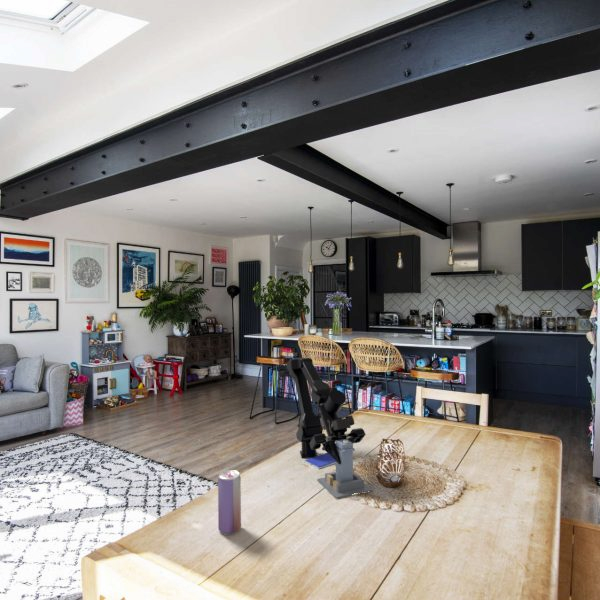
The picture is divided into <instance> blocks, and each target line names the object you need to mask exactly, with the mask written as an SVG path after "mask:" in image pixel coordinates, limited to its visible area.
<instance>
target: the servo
mask: <svg viewBox="0 0 600 600" xmlns="http://www.w3.org/2000/svg"><path fill="white" fill-rule="evenodd" d="M335 446H336V449H337V451H338V454H339V457H340V460H341V464H340V465H339V464H338V463H337V462H336V463H335V472H336V480H337V481H338V482H339V483H343V482H348V481H353V472H354V452H355V448H354V443H352V442H350V441H349V440H347V439H344V440H337V441H336V442H335Z"/></svg>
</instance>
